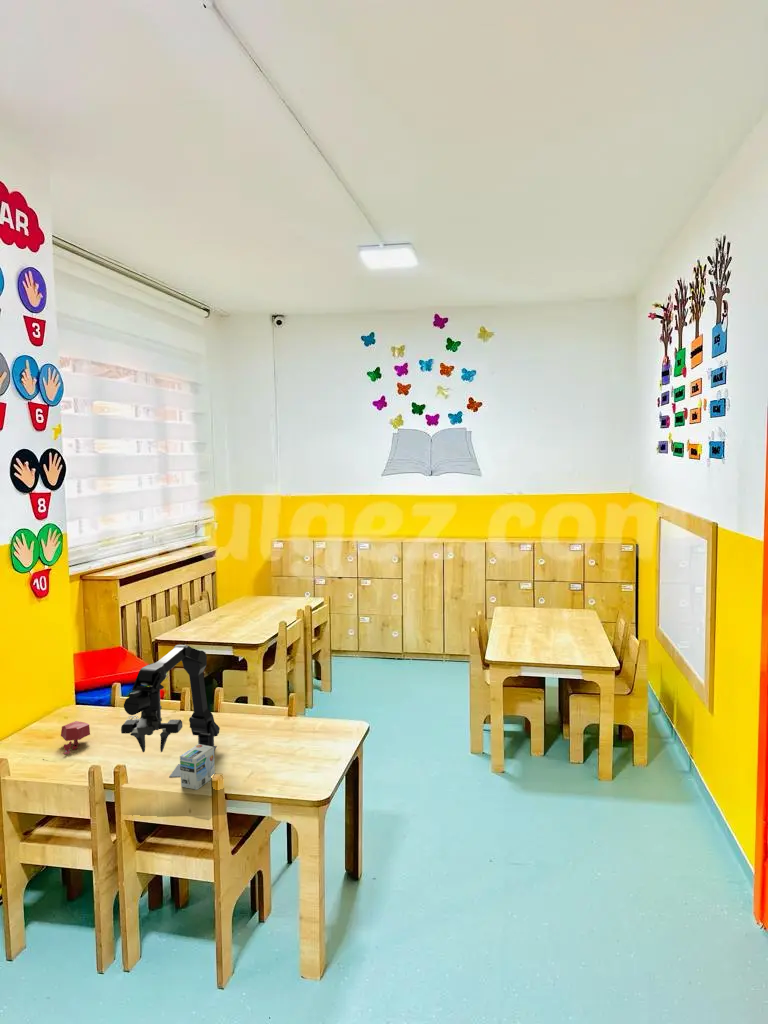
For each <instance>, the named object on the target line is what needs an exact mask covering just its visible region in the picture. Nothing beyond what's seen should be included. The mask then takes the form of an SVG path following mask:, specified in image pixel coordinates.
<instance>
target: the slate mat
mask: <svg viewBox="0 0 768 1024" xmlns="http://www.w3.org/2000/svg"><path fill="white" fill-rule="evenodd" d="M169 778H181V771H180V763H178V764H177V765H176V766H175V768H174V769H173V771H172V772H171V774H170V775H169Z"/></svg>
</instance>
